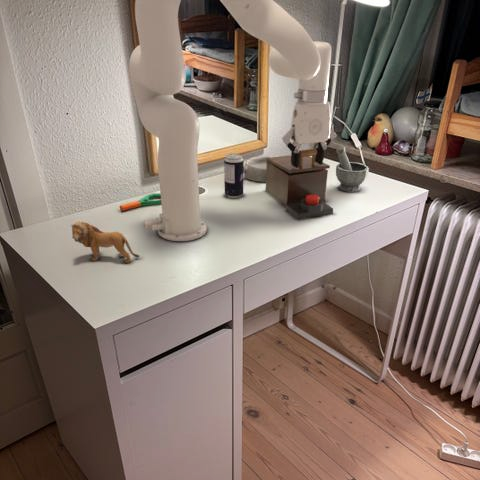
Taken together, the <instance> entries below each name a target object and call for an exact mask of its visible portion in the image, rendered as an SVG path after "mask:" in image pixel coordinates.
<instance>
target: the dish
mask: <svg viewBox="0 0 480 480" xmlns="http://www.w3.org/2000/svg"><path fill="white" fill-rule="evenodd" d="M272 157H273V156H268V155H267V156H265V155H264V156H257V157H251V158H249V159H248V160H246V161H245V164H244V178H246V179H248V180H251V181H255V182H258V183H259V182H260V183H266V166H267V158H272Z"/></svg>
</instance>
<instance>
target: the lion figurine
mask: <svg viewBox="0 0 480 480" xmlns="http://www.w3.org/2000/svg"><path fill="white" fill-rule="evenodd" d="M70 226H71V235H72V236H71V237H72V239H73V240H74V242H75V243H79V244H81V245H83V247H85V248H90V250H91V252H92V254H93V257H91V260H92V261H93V262H95V261H98V259H99V255H100V248H105V249H107V248H108V249H109V248H111V247H114V248H115V250H116V252H118V257H125V258H126V259H124V263H126V264H129V263H130V262H131V256H133V257H135V258H140V255H139V254H137V253H135V252H133V250H132V247H131V246H130V244H129V241H128V240H127V238H126V237H125V235H124V234H122V233H121V232H119V231H112V232H106V231H101V230H100V229H99V228H98V227H96V226H94V225H93V224H90V223H88V222H85V221H76V222H74V223H73V224H71V225H70ZM125 245H126V248H127V249H128V251H129V253H130V254H131V256H130V254H129V253H128V251H126V249H125Z"/></svg>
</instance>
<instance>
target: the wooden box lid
mask: <svg viewBox="0 0 480 480" xmlns="http://www.w3.org/2000/svg"><path fill="white" fill-rule="evenodd" d="M298 153H300V159H299V167H298V168H296V167H294V166H292V164H291V154H290V155H279V156H271V157H272V158H267V161H268V162H270V163H272V164H274V165H276V166H277V167H279V168H281V169H283V170H285V171H286V172H288V173H290V174H291V173H298V172H306V171H313V170H321V169H326V170H328V169H331V165H329V164H328V163H325V162H323V164H322V165H320V164H318V163H316V162H315V155H317V148H309V149H299V151H298Z"/></svg>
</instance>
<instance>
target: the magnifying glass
mask: <svg viewBox="0 0 480 480" xmlns="http://www.w3.org/2000/svg"><path fill="white" fill-rule="evenodd" d="M157 198H159V199H157ZM152 199H155V200H152ZM156 205H157V206H158V205H162V204H161V194H160V193H157V192H156V193H150V194H147V195H145V196H144V197H142V198H141V199H139V200H135V201H133V202H128V203H124V204H120V205H119V210H120V211H122V212H123V211H128V210H132V209H135V208H138V207H144V206H145V207H146V206H156Z"/></svg>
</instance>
